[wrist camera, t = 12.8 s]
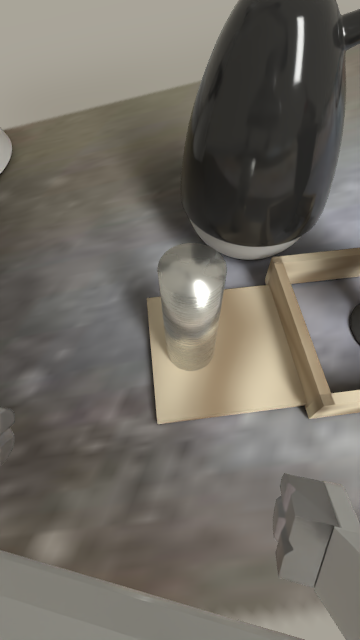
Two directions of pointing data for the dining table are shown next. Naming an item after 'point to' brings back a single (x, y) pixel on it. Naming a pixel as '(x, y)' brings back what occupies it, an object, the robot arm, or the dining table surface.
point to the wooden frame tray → (239, 337)
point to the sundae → (356, 322)
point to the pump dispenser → (267, 125)
